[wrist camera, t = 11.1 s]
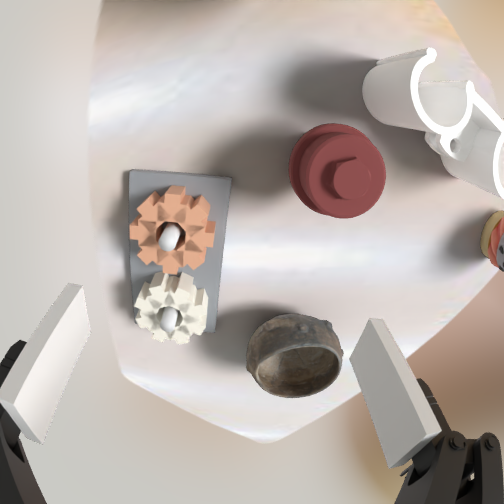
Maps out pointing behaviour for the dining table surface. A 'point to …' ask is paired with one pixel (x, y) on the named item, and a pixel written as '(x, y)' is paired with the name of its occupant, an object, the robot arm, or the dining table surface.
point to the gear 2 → (177, 296)
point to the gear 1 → (187, 216)
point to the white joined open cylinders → (440, 117)
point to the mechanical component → (337, 171)
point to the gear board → (210, 270)
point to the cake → (494, 239)
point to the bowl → (294, 355)
